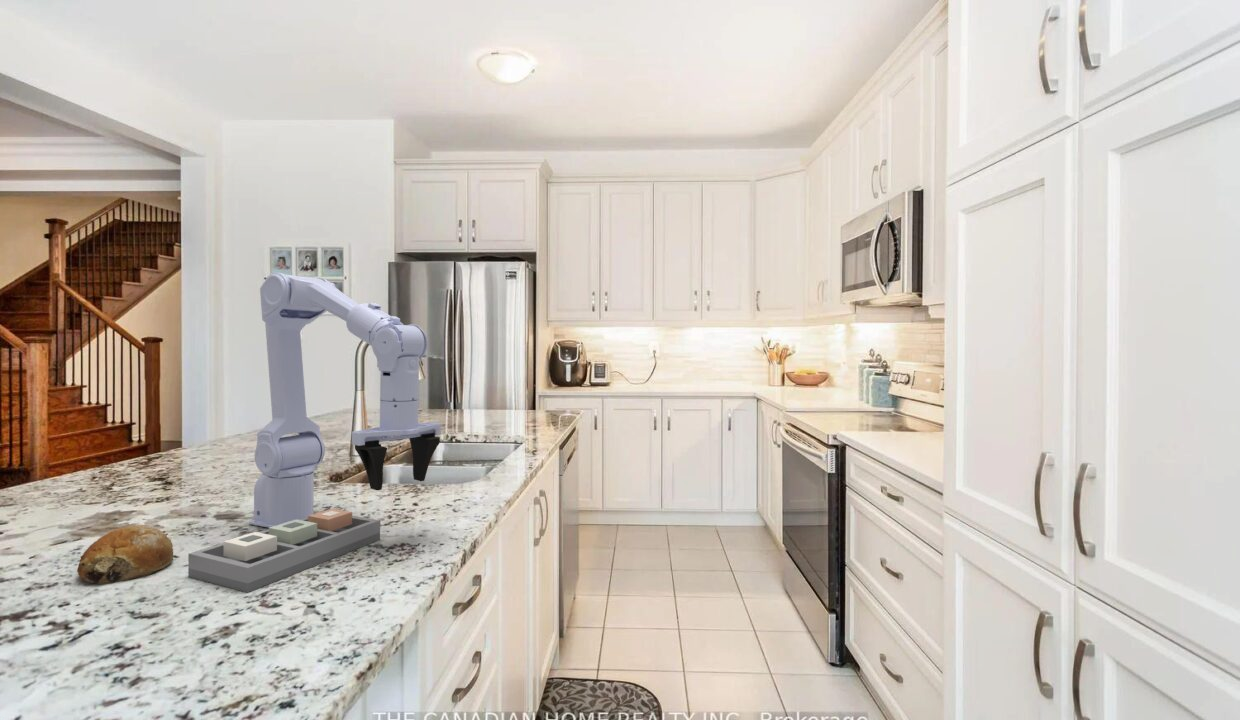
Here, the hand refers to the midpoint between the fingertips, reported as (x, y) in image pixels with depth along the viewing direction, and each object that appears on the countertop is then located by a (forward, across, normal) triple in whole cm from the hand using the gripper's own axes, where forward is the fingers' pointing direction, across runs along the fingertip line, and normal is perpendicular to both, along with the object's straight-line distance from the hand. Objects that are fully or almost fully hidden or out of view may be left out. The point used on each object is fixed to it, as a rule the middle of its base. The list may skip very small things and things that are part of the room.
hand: (398, 484), depth 90 cm
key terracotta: (+7, -6, +9) cm, 13 cm away
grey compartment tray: (+10, -12, +8) cm, 18 cm away
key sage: (+7, -12, +8) cm, 16 cm away
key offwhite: (+7, -19, +6) cm, 21 cm away
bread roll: (+10, -29, +20) cm, 37 cm away
